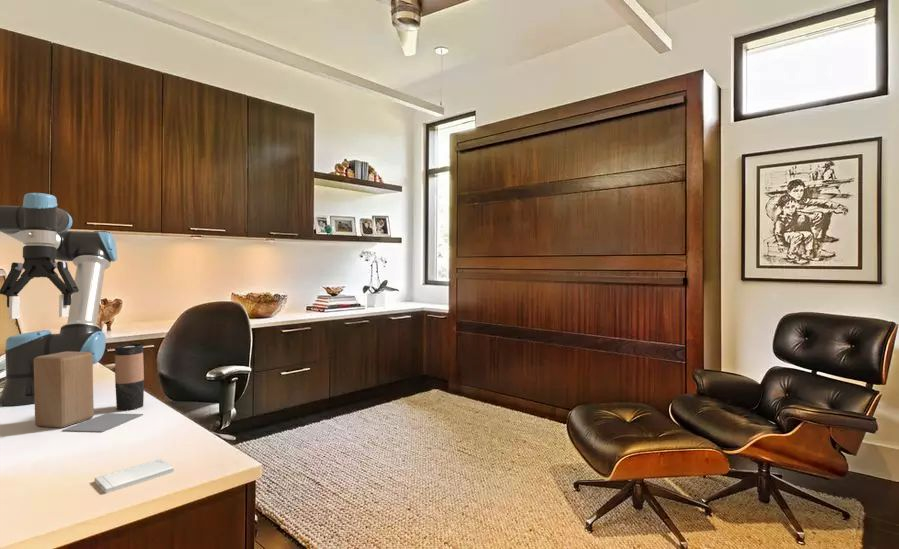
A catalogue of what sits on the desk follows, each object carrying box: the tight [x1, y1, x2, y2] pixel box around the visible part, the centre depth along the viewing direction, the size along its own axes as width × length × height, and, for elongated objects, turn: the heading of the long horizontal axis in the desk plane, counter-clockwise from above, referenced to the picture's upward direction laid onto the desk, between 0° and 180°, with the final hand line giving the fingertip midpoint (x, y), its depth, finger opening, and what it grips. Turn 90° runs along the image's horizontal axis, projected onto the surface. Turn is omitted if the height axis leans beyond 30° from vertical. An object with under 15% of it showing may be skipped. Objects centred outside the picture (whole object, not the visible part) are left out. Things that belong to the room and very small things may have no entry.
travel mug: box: [114, 343, 145, 412], centre depth 151 cm, size 8×8×20 cm
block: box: [34, 351, 95, 429], centre depth 137 cm, size 10×10×20 cm
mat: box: [61, 412, 144, 433], centre depth 136 cm, size 12×15×1 cm
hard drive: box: [94, 458, 175, 494], centre depth 101 cm, size 2×8×12 cm
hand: (39, 317), depth 137 cm, fingers open, 13 cm apart
